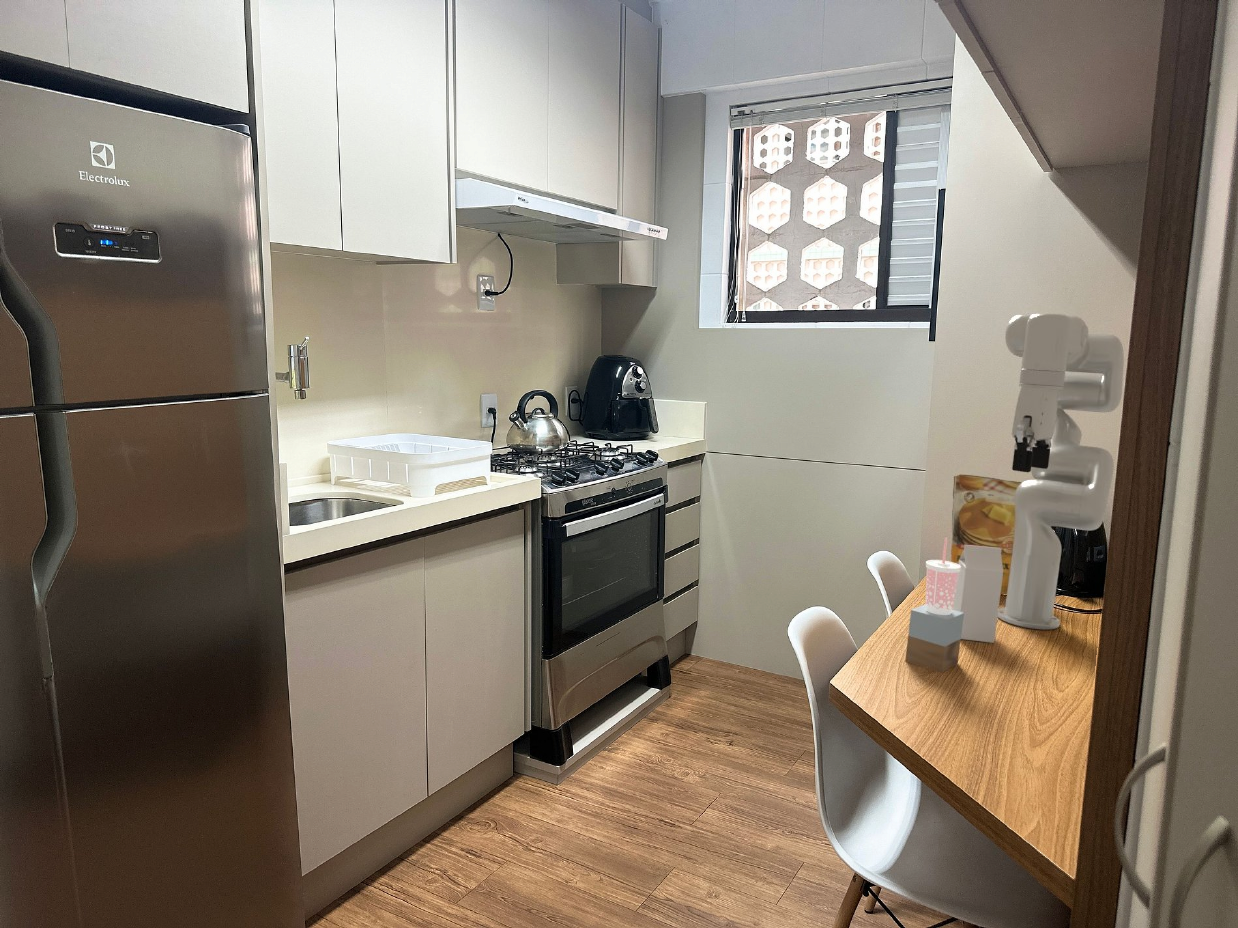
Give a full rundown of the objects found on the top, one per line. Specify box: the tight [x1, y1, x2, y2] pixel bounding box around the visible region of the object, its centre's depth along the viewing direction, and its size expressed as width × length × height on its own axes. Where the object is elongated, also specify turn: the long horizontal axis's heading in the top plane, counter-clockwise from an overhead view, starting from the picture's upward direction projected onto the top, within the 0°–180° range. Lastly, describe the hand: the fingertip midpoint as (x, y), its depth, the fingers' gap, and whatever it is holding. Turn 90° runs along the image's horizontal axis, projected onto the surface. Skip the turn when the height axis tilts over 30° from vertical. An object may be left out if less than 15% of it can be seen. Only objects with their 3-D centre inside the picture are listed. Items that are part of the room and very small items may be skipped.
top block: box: [907, 603, 964, 647], centre depth 156 cm, size 7×7×5 cm
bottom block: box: [904, 635, 962, 673], centre depth 157 cm, size 7×7×5 cm
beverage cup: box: [924, 536, 961, 615], centre depth 155 cm, size 6×6×14 cm
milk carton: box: [952, 545, 1003, 644], centre depth 172 cm, size 7×7×19 cm
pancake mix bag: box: [950, 474, 1023, 594], centre depth 208 cm, size 7×19×28 cm, turn 55°
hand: (1030, 469), depth 161 cm, fingers open, 9 cm apart
